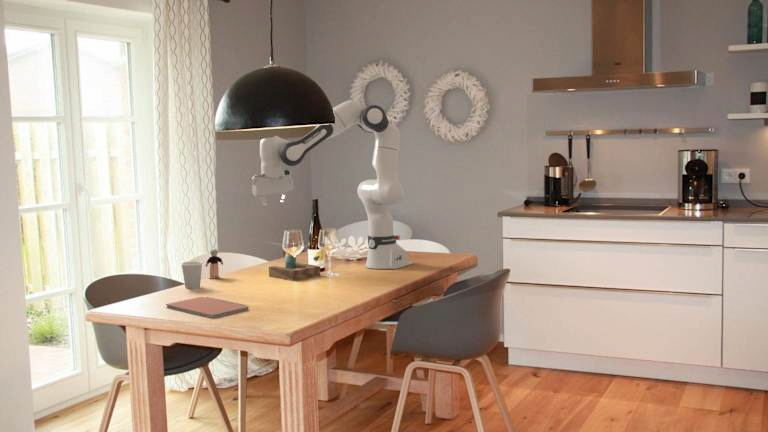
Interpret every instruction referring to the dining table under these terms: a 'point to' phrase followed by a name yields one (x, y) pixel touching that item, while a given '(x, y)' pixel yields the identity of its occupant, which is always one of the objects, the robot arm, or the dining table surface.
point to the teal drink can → (290, 261)
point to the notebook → (208, 306)
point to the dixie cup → (192, 274)
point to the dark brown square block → (295, 272)
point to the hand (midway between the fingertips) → (274, 204)
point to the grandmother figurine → (214, 264)
